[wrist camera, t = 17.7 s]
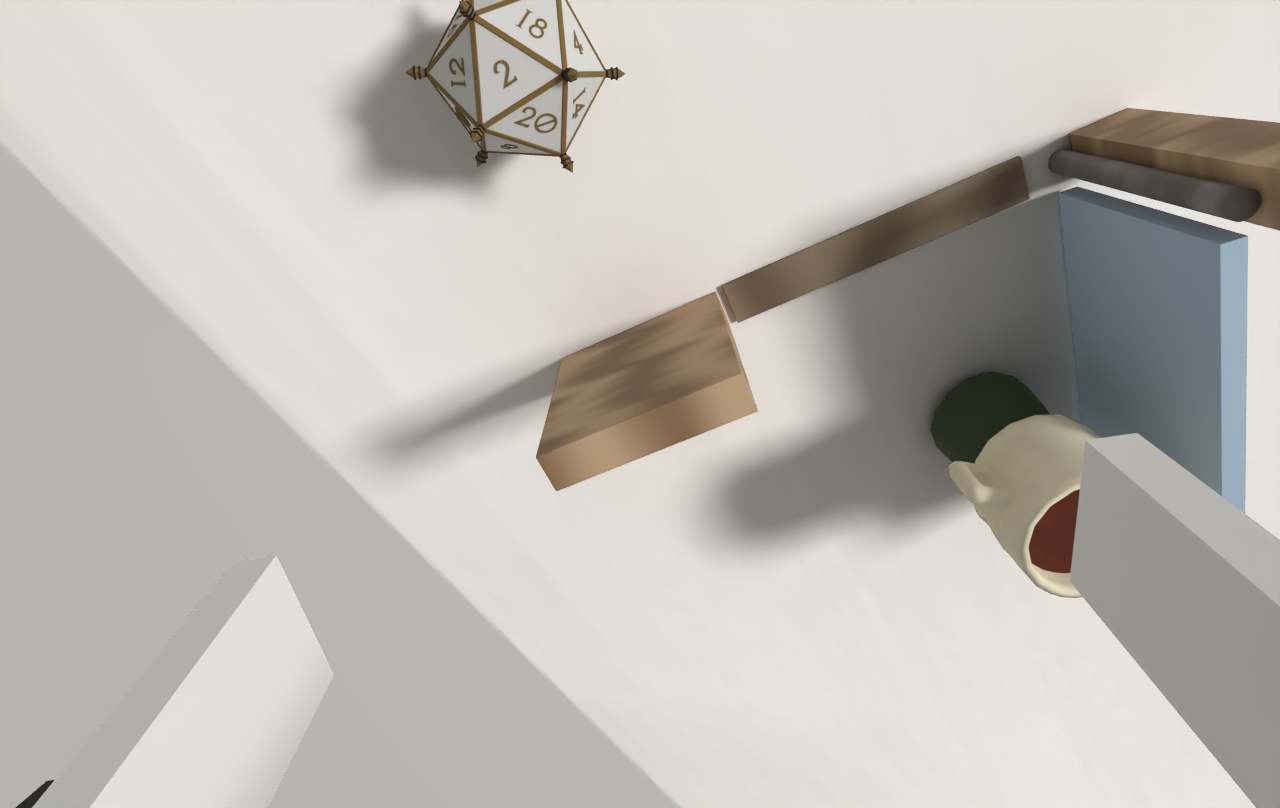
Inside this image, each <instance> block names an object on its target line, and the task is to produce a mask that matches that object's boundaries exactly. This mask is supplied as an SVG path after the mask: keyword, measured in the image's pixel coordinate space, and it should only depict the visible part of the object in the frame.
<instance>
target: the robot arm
mask: <svg viewBox="0 0 1280 808" xmlns="http://www.w3.org/2000/svg"><path fill="white" fill-rule="evenodd" d="M1070 582H1071V583H1072V584H1073V586H1074V587H1075V588H1076V589H1077V590H1078V592H1079V593H1080V594H1081V595H1082V596H1083V598H1084V599H1085V600H1086V601H1087V603H1088V604H1089V605H1090V606H1091V607H1092V609H1093V610H1094V611H1095V612H1096V613H1097V615H1098V616H1099V617H1100V618H1101V620H1102V621H1103V622H1104V623H1105V624H1106V626H1107V627H1108V628H1109V629H1110V630H1111V632H1112V633H1113V634H1114V635H1115V637H1116V638H1117V639H1118V640H1119V641H1120V643H1121V644H1122V645H1123V646H1124V647H1125V649H1126V650H1127V651H1128V652H1129V654H1130V655H1131V656H1132V657H1133V658H1134V660H1135V661H1136V662H1137V663H1138V664H1139V666H1140V667H1141V668H1142V669H1143V671H1144V672H1145V673H1146V674H1147V675H1148V677H1149V678H1150V679H1151V680H1152V681H1153V683H1154V684H1155V685H1156V686H1157V688H1158V689H1159V690H1160V691H1161V692H1162V694H1163V695H1164V696H1165V697H1166V699H1167V700H1168V701H1169V702H1170V703H1171V705H1172V706H1173V707H1174V708H1175V709H1176V711H1177V712H1178V713H1179V714H1180V716H1181V717H1182V718H1183V719H1184V720H1185V722H1186V723H1187V724H1188V725H1189V726H1190V728H1191V729H1192V730H1193V731H1194V733H1195V734H1196V735H1197V736H1198V737H1199V739H1200V740H1201V741H1202V742H1203V743H1204V745H1205V746H1206V747H1207V748H1208V750H1209V751H1210V752H1211V753H1212V754H1213V756H1214V757H1215V758H1216V759H1217V760H1218V762H1219V763H1220V764H1221V765H1222V767H1223V768H1224V769H1225V770H1226V771H1227V773H1228V774H1229V775H1230V776H1231V777H1232V779H1233V780H1234V781H1235V782H1236V784H1237V785H1238V786H1239V787H1240V788H1241V790H1242V791H1243V792H1244V793H1245V794H1246V796H1247V797H1248V798H1249V799H1250V801H1251V802H1252V803H1253V804H1254V805H1255V807H1256V808H1280V540H1279V539H1278V538H1276V537H1275V536H1274V535H1272V534H1271V533H1270V532H1268V531H1267V530H1266V529H1264V528H1263V527H1262V526H1260V525H1259V524H1258V523H1256V522H1255V521H1254V520H1252V519H1251V518H1250V517H1248V516H1247V515H1246V514H1244V513H1243V512H1242V511H1240V510H1239V509H1238V508H1236V507H1235V506H1234V505H1232V504H1231V503H1230V502H1228V501H1227V500H1226V499H1224V498H1223V497H1222V496H1220V495H1219V494H1218V493H1216V492H1215V491H1214V490H1212V489H1211V488H1210V487H1208V486H1207V485H1206V484H1204V483H1203V482H1202V481H1200V480H1199V479H1198V478H1196V477H1195V476H1194V475H1192V474H1191V473H1190V472H1188V471H1187V470H1186V469H1184V468H1183V467H1182V466H1181V465H1179V464H1178V463H1177V462H1175V461H1174V460H1173V459H1171V458H1170V457H1169V456H1167V455H1166V454H1165V453H1163V452H1162V451H1161V450H1159V449H1158V448H1157V447H1155V446H1154V445H1153V444H1151V443H1150V442H1149V441H1147V440H1146V439H1145V438H1143V437H1142V436H1141V435H1139V434H1138V433H1133V434H1126V435H1119V436H1112V437H1105V438H1098V439H1091V440H1085V449H1084V458H1083V467H1082V475H1081V484H1080V493H1079V502H1078V511H1077V520H1076V529H1075V537H1074V546H1073V555H1072V564H1071V573H1070ZM333 676H334V674H333V672H332V670H331V668H330V666H329V664H328V662H327V660H326V658H325V655H324V653H323V651H322V649H321V647H320V645H319V643H318V641H317V639H316V637H315V635H314V633H313V631H312V629H311V626H310V624H309V622H308V620H307V618H306V616H305V614H304V612H303V610H302V608H301V606H300V604H299V602H298V599H297V597H296V595H295V593H294V591H293V589H292V587H291V585H290V583H289V581H288V579H287V577H286V575H285V573H284V570H283V569H282V566H281V564H280V562H279V560H278V558H277V556H276V555H275V556H268V557H262V558H254V559H247V560H240V561H233V562H232V563H231V565H230V566H229V567H228V568H227V570H226V571H225V572H224V573H223V574H222V576H221V577H220V578H219V579H218V581H217V582H216V583H215V584H214V586H213V587H212V588H211V589H210V590H209V592H208V593H207V594H206V595H205V596H204V598H203V599H202V600H201V601H200V603H199V604H198V605H197V606H196V608H195V609H194V610H193V611H192V612H191V614H190V615H189V616H188V617H187V619H186V620H185V621H184V622H183V623H182V625H181V626H180V627H179V628H178V630H177V631H176V632H175V633H174V635H173V636H172V637H171V638H170V639H169V641H168V642H167V643H166V644H165V646H164V647H163V648H162V649H161V650H160V652H159V653H158V654H157V655H156V656H155V658H154V659H153V660H152V662H151V663H150V664H149V665H148V666H147V668H146V669H145V670H144V671H143V673H142V674H141V675H140V676H139V677H138V679H137V680H136V681H135V682H134V683H133V685H132V686H131V687H130V688H129V690H128V691H127V692H126V694H124V696H123V697H122V698H121V699H120V701H119V702H118V703H117V704H116V706H115V707H114V708H113V709H112V710H111V712H110V713H109V714H108V715H107V717H106V718H105V719H104V720H103V721H102V723H101V724H100V725H99V726H98V728H97V729H96V730H95V731H94V732H93V734H92V735H91V736H90V737H89V739H88V740H87V741H86V742H85V743H84V745H83V746H82V747H81V748H80V750H79V751H78V752H77V753H76V755H75V756H74V757H73V758H72V759H71V761H70V762H69V763H68V764H67V766H66V767H65V768H64V769H63V771H62V772H61V773H60V774H59V775H58V777H57V778H56V779H55V780H51V781H46V782H45V783H44V784H43V785H42V786H40V787H39V788H38V789H37V790H36V791H35V792H33V793H32V794H31V795H30V796H29V797H28V798H26V799H25V800H24V801H23V802H22V803H21V804H19V805H18V806H17V807H16V808H267V807H268V806H269V804H270V801H271V800H272V798H273V796H274V794H275V792H276V790H277V788H278V786H279V784H280V782H281V780H282V778H283V776H284V774H285V772H286V770H287V768H288V766H289V764H290V762H291V760H292V758H293V756H294V754H295V752H296V750H297V748H298V746H299V744H300V742H301V740H302V738H303V735H304V734H305V732H306V730H307V728H308V726H309V724H310V722H311V720H312V718H313V716H314V714H315V712H316V710H317V708H318V706H319V704H320V702H321V700H322V698H323V695H324V694H325V692H326V690H327V688H328V686H329V684H330V682H331V680H332V678H333Z"/></svg>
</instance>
